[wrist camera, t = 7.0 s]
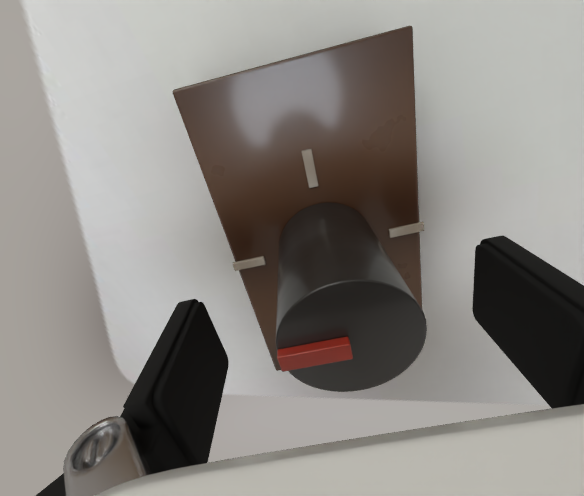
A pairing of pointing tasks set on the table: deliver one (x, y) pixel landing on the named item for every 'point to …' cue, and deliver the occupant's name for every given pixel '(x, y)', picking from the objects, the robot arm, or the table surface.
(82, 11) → the table surface
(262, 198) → the panel
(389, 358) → the dial
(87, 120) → the table surface
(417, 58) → the table surface
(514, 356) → the robot arm
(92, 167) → the table surface
